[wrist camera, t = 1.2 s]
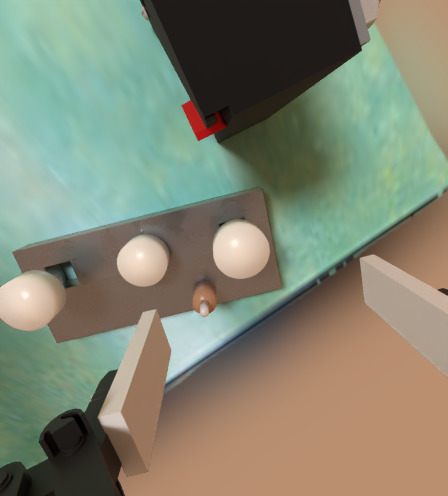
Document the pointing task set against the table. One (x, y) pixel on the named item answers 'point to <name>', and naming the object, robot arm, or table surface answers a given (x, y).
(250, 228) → the knob outer
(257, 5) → the electrical component
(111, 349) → the table surface
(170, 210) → the plate
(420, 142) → the table surface
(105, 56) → the table surface
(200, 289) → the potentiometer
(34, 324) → the knob
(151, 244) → the knob mid
